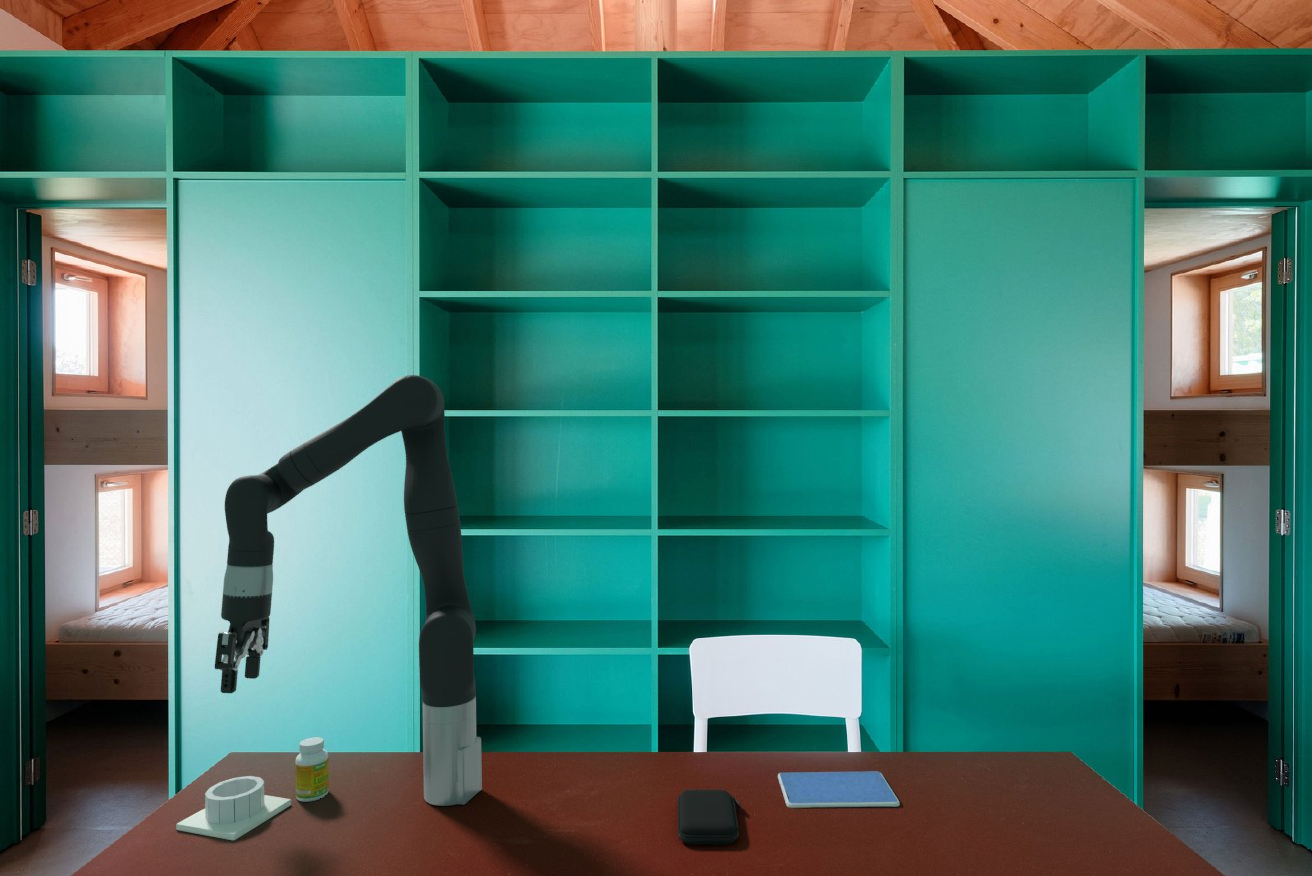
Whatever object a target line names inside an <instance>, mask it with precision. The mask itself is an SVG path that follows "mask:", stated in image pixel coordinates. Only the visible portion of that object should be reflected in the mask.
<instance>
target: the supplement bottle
mask: <svg viewBox="0 0 1312 876" xmlns="http://www.w3.org/2000/svg"><path fill="white" fill-rule="evenodd" d="M324 741H325V740H324V738H322V737H318V736H315V737H314V736H313V737H309V738H305V739H303V740H301V741H300V742H299V754H298V755H297V756H296V758H295V798H296V799H297V801H300V802H302V803H303V802H307V803H308V802H314V801H318V800H321V799H322V798H324V797H326V796H327V795H328V793H329V788H330V786H329V785H330V783H329V781H330V779H329V777H330V776H329V775H330V774H329V769H330V768H329V752H328V751H327V750H326V749H324V748H325V742H324ZM325 795H326V796H325ZM320 798H321V799H320Z"/></svg>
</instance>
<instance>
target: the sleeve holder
mask: <svg viewBox="0 0 1312 876" xmlns="http://www.w3.org/2000/svg"><path fill="white" fill-rule="evenodd" d="M204 801H205V802H204V808H203V809H201V810H199V811H197V812H196V813H194V814H192V815H190V816H188V817H186V818H184V819H182V820H180V821H179V822H177V823H176V826H175V827H176V828H175V829H176V831H180V832H186V833H191V834H196V835H201V836H206V837H207V836H208V837H212V838H213V837H214V838H219V839H223V840H230V841H233V842H234V841H236V840H238V838H240V837H242V836H244V835H245V834H247V833H248V832H251V831H252V830H253V829H255V828H257V827H259V826H260V825H262V824H263V823H265V822H266V821H268V820H269V819H271V818H273V817H274V816H276V815H278V814H279V813H280V812H282V811H284V810H285V809H287V808H289V807H290V806H291V805H292V799H291V798H286V797H285V798H284V797H279V796H273V795H267V794H265V781H264V780H263V779H262V778H261V777H260V776H253V775H248V776H247V775H245V776H237V777H233V778H230V779H226V780H223V781H220V782H218V783H216V784H214V785H212V786H210V787H209V788H208V789H207V791H206V792H205V793H204Z"/></svg>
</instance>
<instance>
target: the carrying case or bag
mask: <svg viewBox="0 0 1312 876" xmlns="http://www.w3.org/2000/svg"><path fill="white" fill-rule="evenodd" d="M736 808H737V809H738V810H739V811H741V809H742V806H741V802H739V800H738V799H737V797H734V796H732V795H731V794H730V793H729V791H728V790H725V789H685V790H682V792H680V794H679V795H678V797H677V836H678V838H679V839H680V840H681V843H683V844H685V845H693V846H694V845H695V846H697V845H703V846H704V845H707V846H708V845H712V846H713V845H715V846H716V845H719V846H720V845H725V846H726V845H731V844H733V843H734V842H735V841H736V840H737V839H738V838H739V836H740V829H739V822H738V817H737V811H736Z"/></svg>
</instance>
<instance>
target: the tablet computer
mask: <svg viewBox="0 0 1312 876" xmlns="http://www.w3.org/2000/svg"><path fill="white" fill-rule="evenodd" d="M777 779H778V783H779V786H780V789H781V792H782V795H783V799H784V801H785V805H786V807H787V808H791V809H803V808H804V809H805V808H861V807H862V808H863V807H867V808H869V807H873V808H874V807H879V808H881V807H900V806H901V805H900V801H899V799H898V797H897V796H896V794H895V792H894V791H893V789H892V787H891V786H890V784H889V783H888V782H887V780H886V778H885V776H884V775H883V774H882V773H881V771H877V770H876V771H875V770H871V771H870V770H868V771H867V770H866V771H816V772H815V771H812V772H811V771H810V772H809V771H808V772H806V771H805V772H802V771H801V772H799V771H797V772H793V771H792V772H779V773H777Z"/></svg>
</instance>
